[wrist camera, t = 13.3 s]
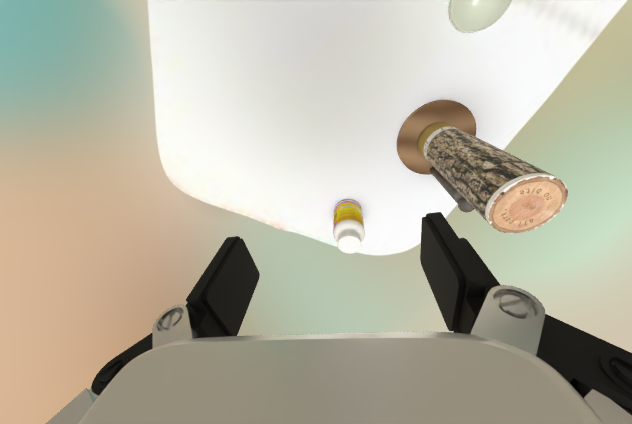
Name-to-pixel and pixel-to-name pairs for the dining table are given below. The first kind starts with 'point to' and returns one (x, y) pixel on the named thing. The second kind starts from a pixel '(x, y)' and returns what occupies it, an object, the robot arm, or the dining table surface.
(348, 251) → the supplement bottle
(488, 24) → the sage dish
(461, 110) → the holder base
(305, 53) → the dining table surface
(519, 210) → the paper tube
